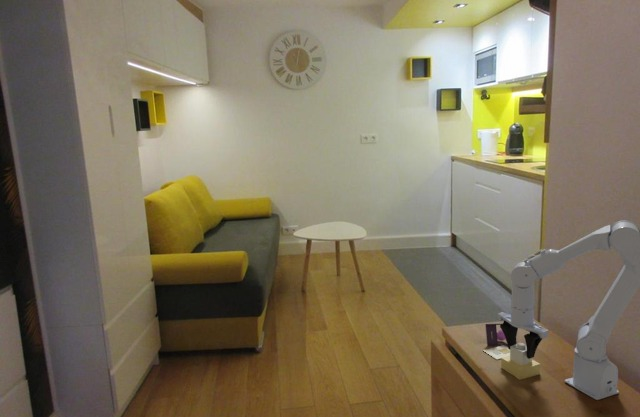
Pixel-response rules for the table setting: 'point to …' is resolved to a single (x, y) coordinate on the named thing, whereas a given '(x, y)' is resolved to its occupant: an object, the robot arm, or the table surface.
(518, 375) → the base brick
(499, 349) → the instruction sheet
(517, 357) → the top brick
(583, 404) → the table surface
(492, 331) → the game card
